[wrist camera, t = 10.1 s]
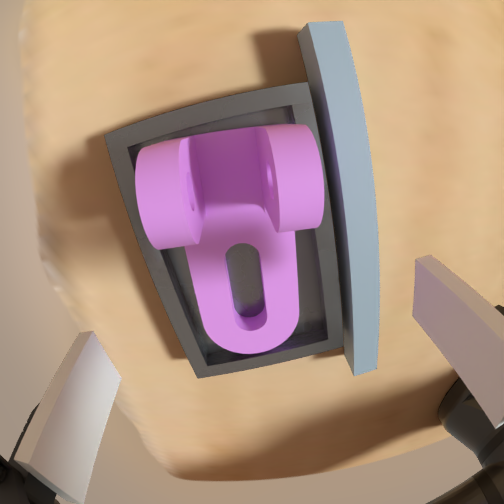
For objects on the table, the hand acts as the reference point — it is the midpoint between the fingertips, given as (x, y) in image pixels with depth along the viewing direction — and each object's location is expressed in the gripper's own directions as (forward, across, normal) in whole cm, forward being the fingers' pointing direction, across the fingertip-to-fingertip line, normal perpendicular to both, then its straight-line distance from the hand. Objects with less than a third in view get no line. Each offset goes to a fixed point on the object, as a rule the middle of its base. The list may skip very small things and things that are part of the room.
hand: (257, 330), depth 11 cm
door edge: (+7, +6, +1) cm, 10 cm away
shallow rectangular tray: (+7, 0, +1) cm, 7 cm away
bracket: (+7, 0, +1) cm, 7 cm away
